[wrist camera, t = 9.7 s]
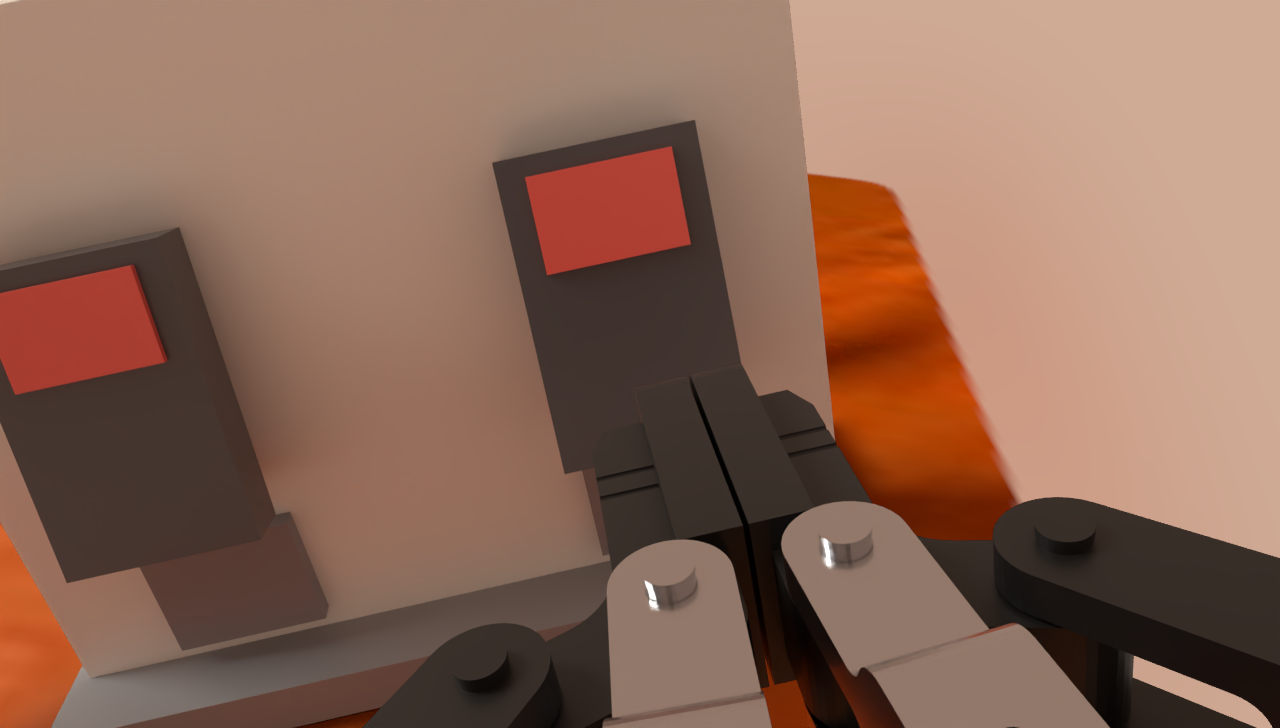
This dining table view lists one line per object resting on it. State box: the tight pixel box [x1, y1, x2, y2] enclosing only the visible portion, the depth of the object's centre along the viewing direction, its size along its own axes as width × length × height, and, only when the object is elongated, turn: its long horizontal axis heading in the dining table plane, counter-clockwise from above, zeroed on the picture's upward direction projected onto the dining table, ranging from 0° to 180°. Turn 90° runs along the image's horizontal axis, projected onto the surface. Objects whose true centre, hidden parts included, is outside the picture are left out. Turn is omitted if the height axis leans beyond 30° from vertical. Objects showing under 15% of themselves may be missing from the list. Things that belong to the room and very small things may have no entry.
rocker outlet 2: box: [492, 120, 741, 474], centre depth 26 cm, size 2×5×8 cm, turn 98°
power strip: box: [0, 0, 835, 728], centre depth 30 cm, size 10×25×20 cm, turn 97°
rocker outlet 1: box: [0, 227, 276, 583], centre depth 26 cm, size 2×5×8 cm, turn 98°
